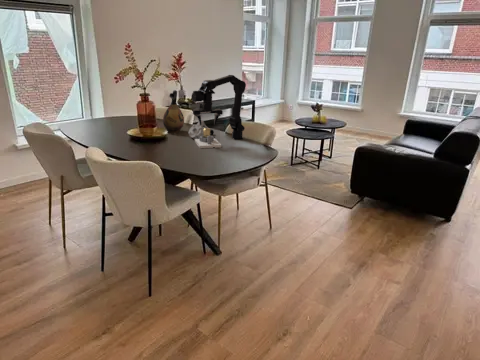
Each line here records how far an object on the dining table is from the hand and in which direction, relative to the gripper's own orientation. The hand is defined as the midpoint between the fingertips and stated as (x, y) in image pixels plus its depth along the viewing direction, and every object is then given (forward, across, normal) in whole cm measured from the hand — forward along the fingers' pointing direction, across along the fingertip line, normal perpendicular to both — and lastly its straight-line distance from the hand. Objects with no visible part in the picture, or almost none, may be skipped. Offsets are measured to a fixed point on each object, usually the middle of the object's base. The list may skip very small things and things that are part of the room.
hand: (207, 125), depth 225 cm
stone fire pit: (+12, +1, +4) cm, 12 cm away
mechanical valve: (+12, 0, -18) cm, 21 cm away
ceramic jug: (+12, +18, -37) cm, 43 cm away
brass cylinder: (+10, +1, 0) cm, 10 cm away
